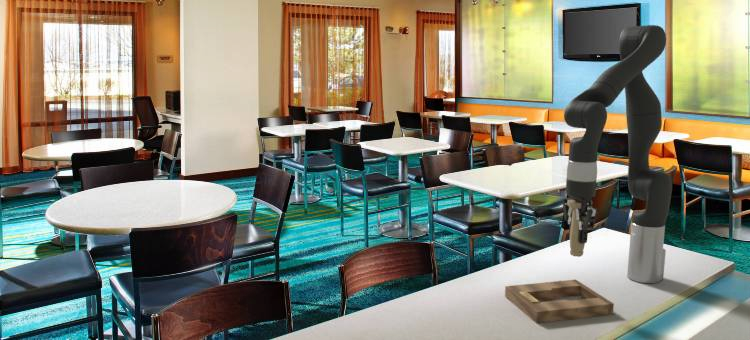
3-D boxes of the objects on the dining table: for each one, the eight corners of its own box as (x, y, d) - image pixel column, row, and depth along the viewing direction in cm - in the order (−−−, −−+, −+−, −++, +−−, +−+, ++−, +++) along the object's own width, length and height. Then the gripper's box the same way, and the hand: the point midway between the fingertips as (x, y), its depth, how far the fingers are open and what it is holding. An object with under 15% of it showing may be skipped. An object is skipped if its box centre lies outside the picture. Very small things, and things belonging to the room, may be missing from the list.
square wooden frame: (575, 289, 177) (575, 278, 177) (612, 314, 160) (613, 302, 159) (505, 296, 172) (505, 285, 171) (536, 323, 155) (536, 310, 154)
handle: (592, 256, 163) (595, 202, 161) (572, 259, 161) (575, 204, 159) (580, 251, 168) (584, 198, 165) (560, 253, 166) (563, 199, 163)
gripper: (610, 182, 155) (605, 247, 158) (579, 171, 168) (575, 232, 172) (583, 183, 153) (579, 249, 156) (554, 173, 167) (551, 234, 170)
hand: (577, 240), depth 164 cm, fingers closed on handle, 4 cm apart
